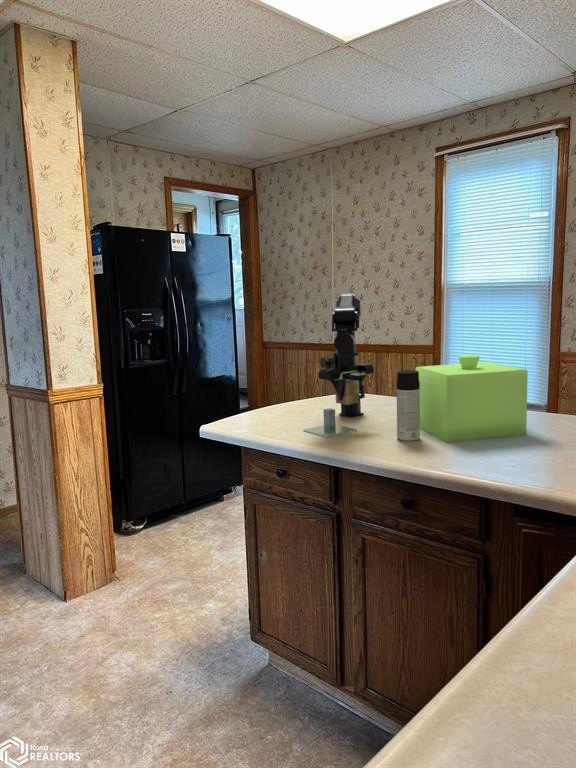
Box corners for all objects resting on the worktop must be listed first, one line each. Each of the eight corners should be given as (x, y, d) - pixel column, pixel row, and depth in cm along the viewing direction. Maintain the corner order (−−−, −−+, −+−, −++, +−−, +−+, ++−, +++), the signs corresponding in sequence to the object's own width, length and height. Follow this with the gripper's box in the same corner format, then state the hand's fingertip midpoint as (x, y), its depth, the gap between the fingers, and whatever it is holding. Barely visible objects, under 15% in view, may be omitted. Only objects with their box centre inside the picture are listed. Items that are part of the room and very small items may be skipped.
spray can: (421, 436, 172) (420, 369, 169) (418, 442, 166) (418, 373, 163) (398, 435, 174) (397, 369, 171) (395, 441, 168) (394, 372, 165)
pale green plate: (332, 424, 192) (331, 404, 191) (356, 430, 182) (356, 409, 181) (303, 431, 185) (302, 409, 184) (327, 437, 175) (326, 415, 174)
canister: (446, 442, 164) (446, 362, 161) (416, 426, 185) (415, 354, 181) (526, 435, 169) (527, 356, 165) (487, 420, 189) (488, 350, 186)
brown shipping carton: (347, 400, 184) (347, 379, 183) (359, 402, 180) (358, 380, 179) (335, 402, 181) (335, 381, 180) (347, 404, 177) (346, 383, 176)
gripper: (349, 345, 190) (350, 391, 193) (305, 350, 179) (307, 400, 181) (374, 346, 181) (375, 395, 184) (330, 352, 170) (331, 404, 173)
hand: (347, 398), depth 181 cm, fingers closed on brown shipping carton, 5 cm apart
